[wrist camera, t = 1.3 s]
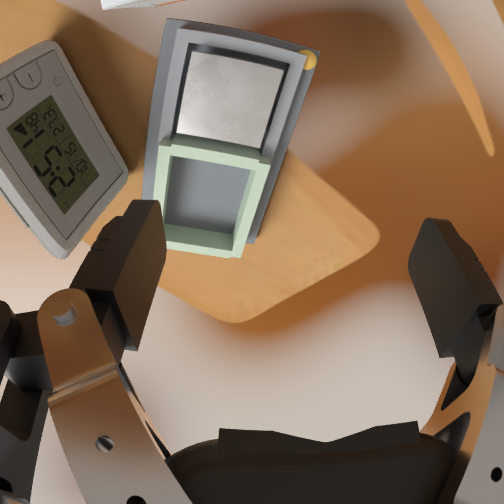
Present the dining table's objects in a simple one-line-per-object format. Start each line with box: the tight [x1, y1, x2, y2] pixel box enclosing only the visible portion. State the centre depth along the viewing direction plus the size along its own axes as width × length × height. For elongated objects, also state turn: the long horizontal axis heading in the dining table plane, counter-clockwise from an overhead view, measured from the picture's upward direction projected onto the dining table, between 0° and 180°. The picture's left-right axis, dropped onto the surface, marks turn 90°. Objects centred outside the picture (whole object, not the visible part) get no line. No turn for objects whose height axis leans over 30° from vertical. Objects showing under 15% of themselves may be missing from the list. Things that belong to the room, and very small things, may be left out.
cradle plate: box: [176, 50, 284, 148], centre depth 22 cm, size 7×7×1 cm
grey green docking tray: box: [142, 18, 320, 258], centre depth 26 cm, size 12×21×3 cm, turn 166°
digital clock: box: [0, 40, 129, 259], centre depth 20 cm, size 16×9×11 cm, turn 7°
